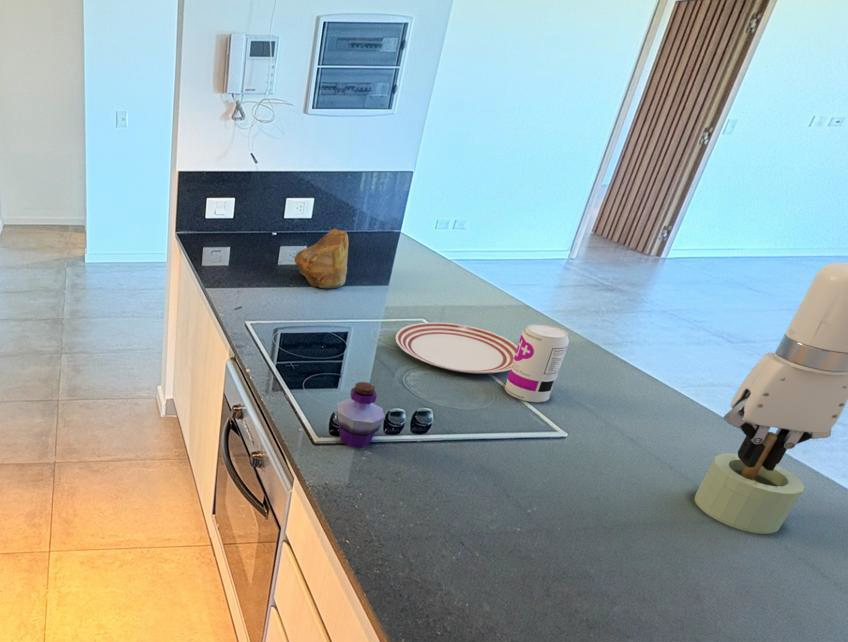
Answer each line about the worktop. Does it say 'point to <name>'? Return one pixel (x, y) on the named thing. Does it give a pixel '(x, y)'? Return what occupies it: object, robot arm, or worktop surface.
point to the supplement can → (537, 362)
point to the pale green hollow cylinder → (748, 495)
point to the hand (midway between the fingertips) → (754, 463)
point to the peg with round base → (768, 443)
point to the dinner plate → (457, 347)
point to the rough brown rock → (325, 260)
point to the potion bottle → (359, 416)
